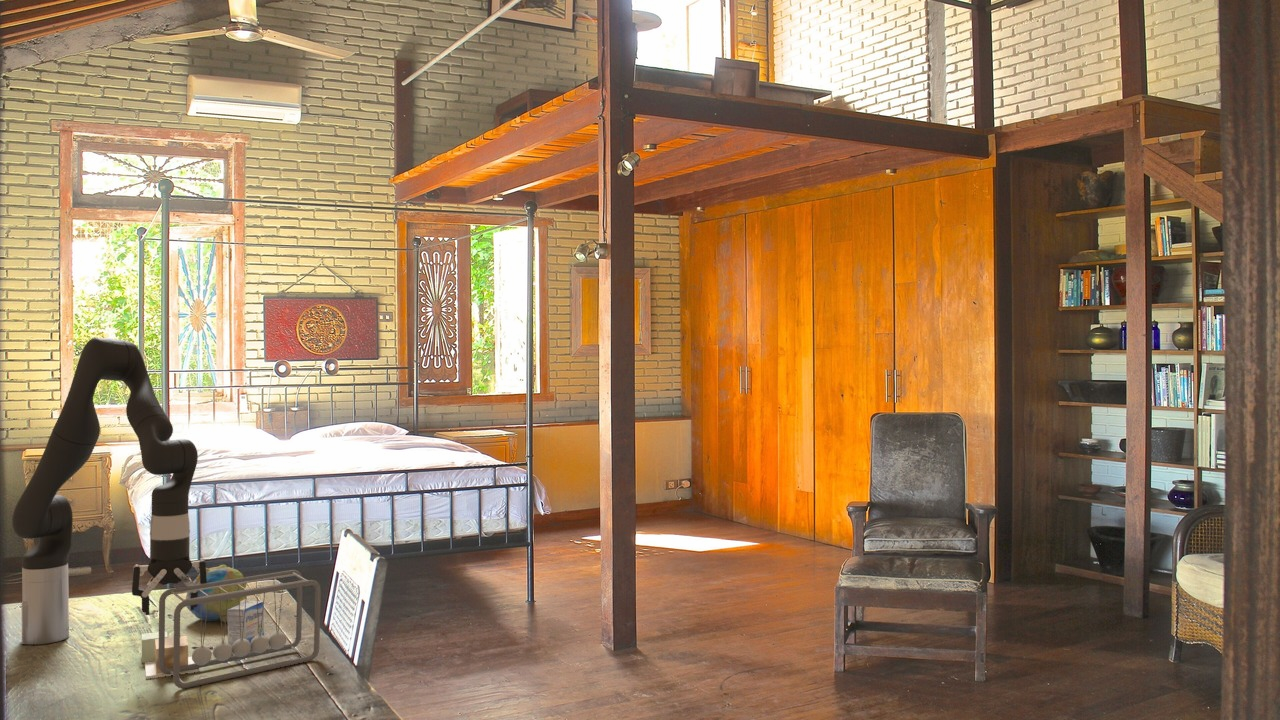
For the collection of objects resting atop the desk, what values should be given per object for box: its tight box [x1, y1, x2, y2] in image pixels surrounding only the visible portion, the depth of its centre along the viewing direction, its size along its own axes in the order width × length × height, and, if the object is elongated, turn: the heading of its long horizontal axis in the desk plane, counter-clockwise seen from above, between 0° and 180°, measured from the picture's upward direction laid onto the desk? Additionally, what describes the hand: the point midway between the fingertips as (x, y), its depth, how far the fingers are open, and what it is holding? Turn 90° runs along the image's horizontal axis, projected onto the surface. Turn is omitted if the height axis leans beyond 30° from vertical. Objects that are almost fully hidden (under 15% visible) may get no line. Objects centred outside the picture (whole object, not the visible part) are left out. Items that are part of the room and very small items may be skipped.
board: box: [144, 656, 200, 680], centre depth 214 cm, size 10×10×1 cm
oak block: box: [155, 635, 189, 673], centre depth 214 cm, size 6×8×5 cm
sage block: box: [141, 631, 169, 664], centre depth 221 cm, size 5×5×5 cm
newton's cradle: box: [158, 569, 322, 689], centre depth 213 cm, size 30×10×18 cm, turn 132°
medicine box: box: [227, 600, 265, 647], centre depth 232 cm, size 8×4×9 cm, turn 168°
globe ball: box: [185, 564, 248, 624], centre depth 252 cm, size 14×16×15 cm
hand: (169, 611), depth 213 cm, fingers open, 8 cm apart
